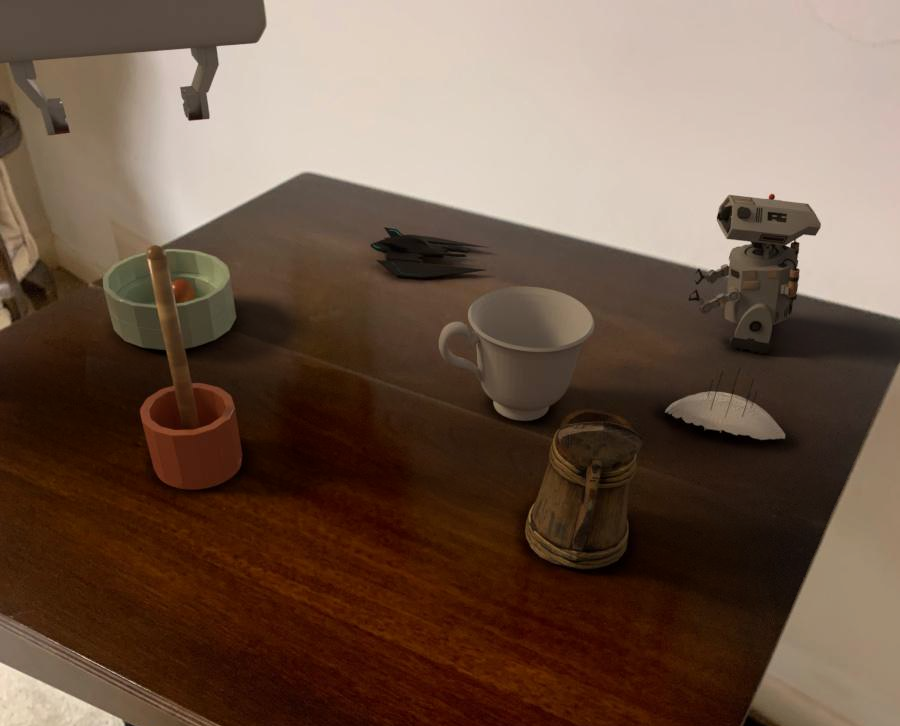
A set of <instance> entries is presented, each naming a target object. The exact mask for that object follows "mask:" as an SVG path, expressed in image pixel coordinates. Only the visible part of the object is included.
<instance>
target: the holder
mask: <svg viewBox="0 0 900 726" xmlns="http://www.w3.org/2000/svg"><path fill="white" fill-rule="evenodd" d="M191 383H192V388H193V393H194V398H195V403H196V409H197V414H198V419H199V424H200V428H197V429H192V430H183V427H182V422H181V417H180V413H179V408H178V403H177V398H176V394H175V389H174V385H170V386H167V387H164V388H161V389H159V390H158V391H156V392H154V393H153V394H151V395H150V396H148V397H146V399H145V400H144V402H143V404H142V405H141V407H140V408H139V413H140V418H141V423H142V427H143V431H144V435H145V439H146V443H147V448H148V452H149V456H150V459H151V464H152V467H153V471H154V472H155V475H156V476H157V478H158V479H159V480H160V481H162V482H163V483H164V484H166V485H167V486H170V487H173V488H177V489H179V490H193V491H194V490H195V491H197V490H204V489H209V488H213V487H217V486H220V485H221V484H224V483H226V482H227V481H229V480H231V479H232V478H233V477H234V476H235V475H237V473H238V471H239V470H240V468H241V466H242V463H243V451H242V444H241V437H240V436H241V435H240V430H239V425H238V419H237V412H236V406H235V403H234V400H233V397H232V395H231V394H230V393H229V392H227V391H226V390H224V389H223V388H221V387H220V386H216V385H211V384H207V383H202V382H191Z"/></svg>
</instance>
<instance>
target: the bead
mask: <svg viewBox="0 0 900 726" xmlns="http://www.w3.org/2000/svg"><path fill="white" fill-rule="evenodd" d="M172 286H173V291H174V296H175V301H176V303H184V302H187V301H191V300H194V299H195V290H194V288H193V286H192V285H191V283H189V282H188V281H186V280H184V279H177V280H174V281H172Z"/></svg>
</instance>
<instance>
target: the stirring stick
mask: <svg viewBox="0 0 900 726" xmlns="http://www.w3.org/2000/svg"><path fill="white" fill-rule="evenodd" d="M165 250H166V249H164V247H162V246H160V245H157V244H153V245H151V246H149V247H147V250H146V251H145V252H146V258H147V262H148V267H149V272H150V276H151V281H152V286H153V290H154V295H155V300H156V305H157V309H158V314H159V319H160V323H161V328H162V333H163V337H164V342H165V347H166V350H165V351H166V356H167V360H168V365H169V370H170V376H171V379H172V384H173V386H174V389H175V394H176V398H177V403H178V408H179V413H180V417H181V422H182V427H183V430H192V429H197V428H200V424H199V419H198V414H197V409H196V403H195V398H194V393H193V388H192V383H193V382H192V378H191V374H190V373H191V372H190V367H189V363H188V358H187V352H186V349H185V347H184V342H183V337H182V332H181V327H180V322H179V317H178V311H177V306H176V301H175V296H174V291H173V286H172V281H171V276H170V271H169V265H168V260H167V255H166V252H165Z"/></svg>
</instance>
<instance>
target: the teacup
mask: <svg viewBox="0 0 900 726" xmlns="http://www.w3.org/2000/svg"><path fill="white" fill-rule="evenodd" d="M467 318H468V322H469V325H470V326H471V327H472V329H473V331H472V332H470V328H469V326H468V325H467V324H465V322H462V321H453V322H449V323H447V324H446V325H445V326H444V327H443V328H442V330H441V332H440V334H439V338H438V350H439V353H440V355H441V357H442V359H443V360H444V361H445V362H446V363H447V364H449V365H450V366H451V367H454V368H457V369H460V370H465V371H468V372H470V373H472V374H473V375H474V376H475V377H476V378H477V379H478V380H479V382H480V385H481V388H482V389H483V391H484V393H485V394H486V395H487V397H489V398H490V399H491V400H492V401H493V403H492V404H493V408H494V409H495V411H496V412H497V413H498V414H499V415H501V416H503V417H505V418H507V419H510V420H514V421H522V422H528V421H534V420H538V419H540V418H542V417H544V416H545V415H546V414H547V413H548V411H549V408H550V407H551V406H552V405H554V404H556V403H557V402H558V401H559V400H561V399H562V397H563V396H564V395H565V394H566V392H567V390H568V388H569V387H570V384H571V382H572V379H573V375H574V373H575V369H576V366H577V363H578V359H579V356H580V352H581V349H582V347H583V344H584V341H586V340H587V339H588V338H589V337H590V336H591V335H592V334H593V332H594V329H595V320H594V316H593V315H592V313H591V312H590V310H589V309H588V308H587V306H585V305H584V304H583V303H582V302H581V301H579V300H578V299H576V298H575V297H573V296H571V295H568V294H566V293H564V292H560V291H557V290H554V289H550V288H546V287H538V286H528V285H527V286H526V285H525V286H524V285H523V286H522V285H521V286H520V285H519V286H508V287H502V288H498V289H494V290H492V291H489V292H487V293H484V294H483V295H481V296H480V297H478V298H477V299H476V300H474V302H472V304H471V305H470V306H469V309H468V311H467ZM458 335H459V336H463V337H464V341H465V344H466V345H467V346H469V347H472V346H473V345H475V344H476V357H477V358H476V361H477V362H476V363H477V365H476V364H474V363H473V362H472V361H470V360H468V359H466V358H463V357H461V356H458V355H455V354H453V352H451V350H450V349H449V343H450V340H451V339H452V338H453V337H455V336H458Z"/></svg>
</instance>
